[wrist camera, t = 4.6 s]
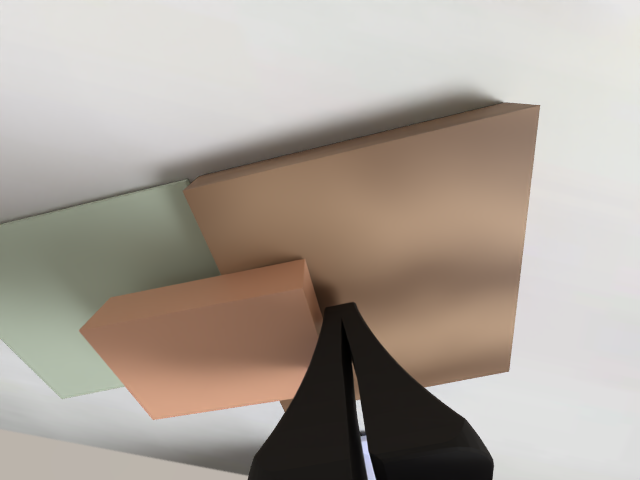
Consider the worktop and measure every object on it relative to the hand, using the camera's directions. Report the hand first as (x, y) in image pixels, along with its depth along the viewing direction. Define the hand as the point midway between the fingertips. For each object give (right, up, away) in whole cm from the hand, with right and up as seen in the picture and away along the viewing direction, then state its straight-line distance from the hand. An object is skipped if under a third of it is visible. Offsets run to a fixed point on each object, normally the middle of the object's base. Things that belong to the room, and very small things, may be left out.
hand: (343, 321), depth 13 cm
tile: (-5, -1, +1) cm, 6 cm away
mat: (-12, 0, +3) cm, 12 cm away
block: (+2, +2, +2) cm, 3 cm away
